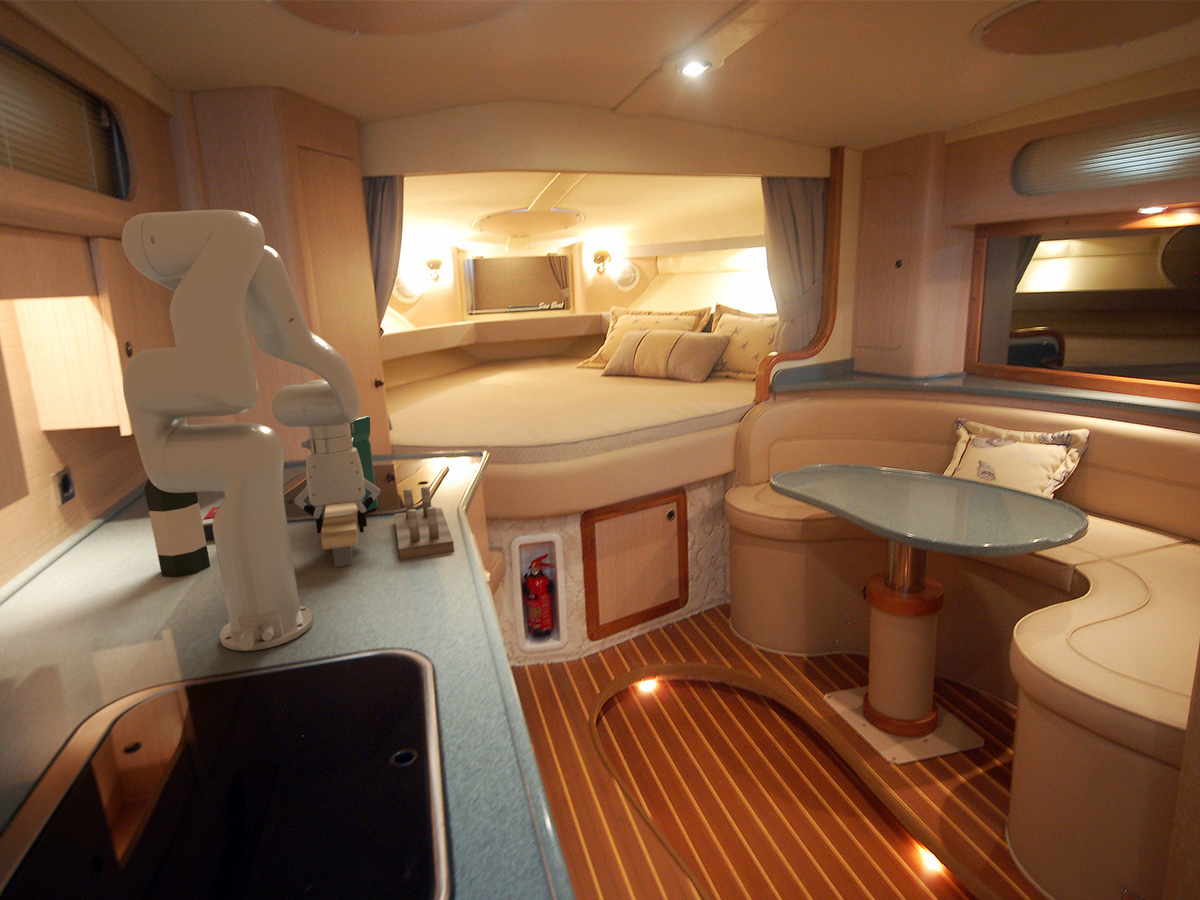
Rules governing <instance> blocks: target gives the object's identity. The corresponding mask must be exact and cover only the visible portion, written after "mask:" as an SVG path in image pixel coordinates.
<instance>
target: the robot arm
mask: <svg viewBox="0 0 1200 900" xmlns="http://www.w3.org/2000/svg"><path fill="white" fill-rule="evenodd" d="M121 243H122V248H123V252H124V254H125V255H126V258H127V259H128V261H129V262H130V264H131V265H132V266H133V267H134V269H136V270H137V271H138V272H139V273H140V274H141V275H143V277H145V278H147V279H149V280H150V281H152V282H154V283H157V284H158V285H160V286H162V287H164V288H166V289H168V290H170V291H172V292H173V295H172V299H171V302H170V307H169V315H170V322H171V326H172V331H173V336H174V342H175V343H174V344H175V346H174V347H156V348H155V347H154V348H149V349H144V350H141V351H140V352H138V353H136V354H135V355H133V356H132V357H131V359H129V361H128V362H127V364H126V366H125V369H124V373H123V379H122V389H123V396H124V397H123V398H124V401H125V405H126V409H127V413H128V417H129V420H130V425H131V427H132V428H131V429H132V431H133V434H134V435H133V436H134V438H135V443H136V445H137V449H138V452H139V455H140V460H141V462H142V465H143V469H144V471H145V473H146V475H147V479H148V478H149V479H150V481H151V482H152V483H153V484H154V485H155V486H156V487H157V488H159V489H160V490H163V491H166V492H172V493H188V492H197V493H205V492H206V493H208V492H212V493H213V492H214V493H218V492H219V493H223V494H224V498H223V501H222V502H221V504H220V506H218V507H219V509H218V510H217V512H216V514H215V517H214V520H213V534H214V539H215V540H214V543H215V548H216V555H217V559H218V566H219V572H220V576H221V577H220V578H221V582H222V587H223V594H224V598H225V604H226V605H225V606H226V609H227V615H228V621H229V622H228V623H226V624H225V625H224V626H223V628H221V629H220V632H219V641H220V643H221V645H223V647H225V649H226V648H227V649H229V650H233V651H239V652H240V651H241V652H249V651H250V652H251V651H259V650H265V649H269V648H273V647H276V646H281V645H283V644H286V643H288V642H290V641H292V640H295V639H297V638H298V637H300V636H301V635H303V634H304V633H306V632H307V631H308V630H309V629H310V628H311V626H312V625H313V623H314V616H313V615H314V614H313V612H312V610H311V609H310V608H308V607H306V606H304V605H301V603H300V599H299V593H298V592H299V591H298V586H297V585H298V584H297V579H296V573H295V572H296V571H295V565H294V560H293V553H292V547H291V546H292V545H291V539H290V532H289V527H288V519H287V514H286V513H287V512H286V506H285V505H286V504H285V497H284V496H285V495H284V469H285V467H284V466H285V451H284V444H283V442H282V438H281V437H280V435H279V434H278V433H277V432H276V431H275V430H274V429H273V428H271V427H269V426H267V425H265V424H261V423H254V422H240V421H239V422H220V423H219V422H217V423H215V422H214V423H206V424H205V423H204V424H203V423H202V424H188V421H187V418H209V417H211V418H212V417H225V416H226V417H227V416H235V415H240V414H244V413H246V412H248V411H250V410H251V409H253V408H254V407H255V406H256V404H257V401H258V397H259V386H258V384H259V383H258V379H257V373H256V367H255V364H254V358H253V354H252V349H251V348H252V347H251V344H250V340H249V339H251V341H252V343H253V345H254V347H255V348H256V349H258V350H259V352H261V353H263V354H265V355H268V356H269V357H273V358H275V359H279V360H282V361H285V362H287V363H289V364H293V365H297V366H300V367H301V368H305V369H306V370H309V371H311V372H313V373H315V374H317V375H318V376H319V377H321V378H319V379H313V380H308V381H306V382H305V383H304V384H289V385H286V386H283V387H281V388H279V390H277V391H276V393H275V394H274V395H273V397H272V400H271V411H272V415H273V417H274V418H275V420H276V421H277V422H278V423H280V424H281V425H282V426H284V427H289V428H307V434H308V438H307V439H305V440H301V441H300V444H301V448H302V449H308V450H309V452H307V454H306V461H305V465H306V466H305V467H306V471H305V472H306V486H305V488H304V489H303V490H302V491H301V492H300V493H299V494H298V495H297V496H296V497H295V499H294V501H293V502H294V504H295V505H296V506H298V507H299V508H300V509H302V510H303V511H304V512H306V513H307V514H309V515H310V516H312V517H313V519H315V524H316V525H315V526H316V530H317V534H321V530H322V525H323V519H324V513H323V508H324V506H325V507H326V505H335V504H343V503H350V502H354V503H355V504H356V506H357V507H358V522H359V533H364V532H365V531H364V528H365V527H368V523H367V514H366V513H367V512H366V510H367V509H368V507H369V506H370V505H371V504H372V503H373V501H374V500H375V499H376V498H377V499H378V496H379V495H380V494H381V489H380V487H378V486H376V484H375V485H373V484H372V483H370V482H369V481H368V480H366V479H365V478H364V476H363V470H362V466H361V461H360V458H359V454H358V451H357V449H356V448H354V447H353V445H352V437H351V429H350V423H352V422H354V421H355V420H356V419H357V418H359V415H360V411H361V401H360V396H359V392H358V388H357V385H356V382H355V379H354V377H353V373H352V371H351V368H350V366H349V364H348V362H347V361H346V359H345V358H344V356H342V355H341V353H339V352H338V351H337V350H336V349H335V348H334V347H333V346H332V345H330V344H329V342H327V341H325V340H324V339H323V338H321V336H319V335H317V334H315V333H314V332H312V331H311V330H310V329H309V328H308V326H307V323H306V321H305V319H304V315H303V312H302V309H301V306H300V305H299V301H298V298H297V296H296V294H295V290H294V288H293V285H292V282H291V280H290V276H289V275H288V272H287V269H286V266H285V264H284V261H283V259H282V257H281V256H280V254H279V253H278V252H277V251H276V250H275V249H274V248H272V247H270V246H268V245H266V237H265V231H264V227H263V225H262V223H261V222H260V221H259V219H257V217H255V216H253V215H252V214H250V213H247V212H245V211H242V210H241V211H240V210H232V209H201V210H198V209H196V210H182V211H180V210H179V211H158V212H156V211H155V212H148V213H147V212H145V213H139V214H137V215H134V216H132V217H131V218H130V219H129V220H127V222H126V223H125V224H124V227H123V228H122V233H121ZM249 336H250V338H249ZM365 488H366V489H368V490H369V491H370V492H371V494H370V495H369V496H368V497H367V498H366V499H365V500H364V501H363V498H364V497H365ZM307 497H308V500H309V503H308V502H307V501H306V499H307ZM365 512H366V513H365Z"/></svg>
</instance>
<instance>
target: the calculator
mask: <svg viewBox="0 0 1200 900" xmlns="http://www.w3.org/2000/svg"><path fill="white" fill-rule="evenodd" d="M219 507H220V506H213V507H212V508H211V509H210V510H209V511H208V512H207V514H206V515H205V516H204V517H203V519H202V523H203V529H204V534H205V539H206V542H213V541H215V539H214V534H213V520H214V517H215V514H216V512H217V510H218V509H219Z"/></svg>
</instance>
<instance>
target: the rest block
mask: <svg viewBox="0 0 1200 900" xmlns="http://www.w3.org/2000/svg"><path fill="white" fill-rule="evenodd" d="M353 554H354V545H353V546H346V547H339V548H332V556H333V557H332V558H333V563H334V567H335V568H339V567H343V566H344V567H345V566H346V567H347V566H352V565H353V556H354V555H353Z"/></svg>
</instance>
